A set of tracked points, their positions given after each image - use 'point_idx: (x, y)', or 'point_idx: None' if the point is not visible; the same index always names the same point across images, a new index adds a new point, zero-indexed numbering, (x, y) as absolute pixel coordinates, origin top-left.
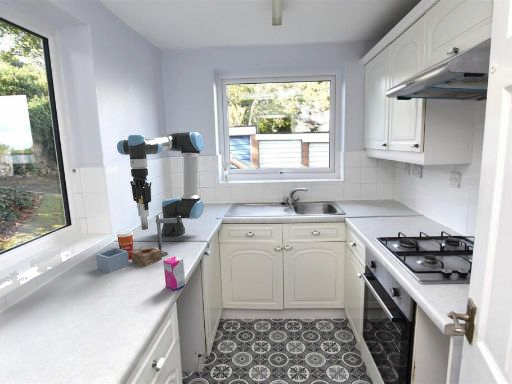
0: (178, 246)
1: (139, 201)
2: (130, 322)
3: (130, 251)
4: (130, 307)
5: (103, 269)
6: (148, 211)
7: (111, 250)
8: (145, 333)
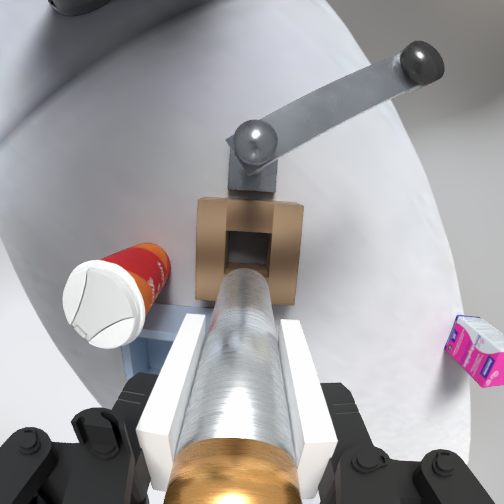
0: (239, 50)
1: None
2: (439, 438)
3: (163, 277)
4: (417, 426)
5: None
6: (308, 349)
7: (130, 348)
8: (469, 433)
